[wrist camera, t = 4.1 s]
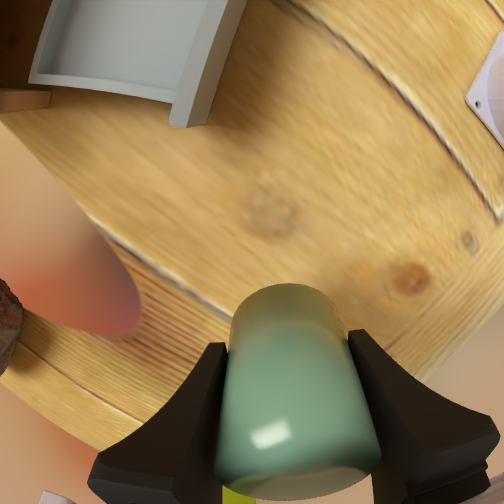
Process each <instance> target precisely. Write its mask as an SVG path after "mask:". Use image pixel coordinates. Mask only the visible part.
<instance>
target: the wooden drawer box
mask: <svg viewBox="0 0 504 504" xmlns="http://www.w3.org/2000/svg"><path fill="white" fill-rule="evenodd" d="M51 94H52V91H43V90H31V89H16V88H0V113H7V112H16V111H25V110H37V109H48V108H49V103H50V98H51Z"/></svg>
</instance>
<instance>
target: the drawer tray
mask: <svg viewBox="0 0 504 504" xmlns="http://www.w3.org/2000/svg"><path fill="white" fill-rule="evenodd" d="M247 1H248V0H53V1H52V4H51V6H50V9H49V12H48V14H47V17H46V20H45V23H44V26H43V29H42V32H41V35H40V38H39V42H38V45H37V48H36V52H35V55H34V59H33V63H32V67H31V71H30V75H29V79H28V83H32V84H46V85H57V86H67V87H76V88H85V89H93V90H100V91H107V92H113V93H120V94H126V95H131V96H137V97H143V98H148V99H153V100H158V101H163V102H168V103H172V104H173V105H172V109H171V112H170V116H169V120H168V124H171V125H176V126H180V127H184V128H189V127H195V126H201V125H206V122H207V119H208V116H209V112H210V109H211V106H212V102H213V99H214V96H215V93H216V89H217V86H218V83H219V80H220V77H221V74H222V71H223V68H224V65H225V62H226V59H227V56H228V53H229V50H230V47H231V44H232V41H233V39H234V36H235V33H236V30H237V27H238V25H239V22H240V19H241V17H242V14H243V11H244V9H245V6H246V3H247Z"/></svg>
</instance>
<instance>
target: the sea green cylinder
mask: <svg viewBox="0 0 504 504" xmlns="http://www.w3.org/2000/svg"><path fill="white" fill-rule="evenodd" d="M380 459H381V449H380V446H379V442H378V439H377V435H376V432H375V428H374V425H373V421H372V418H371V414H370V411H369V408H368V404H367V401H366V398H365V394H364V391H363V388H362V385H361V381H360V378H359V375H358V372H357V369H356V366H355V363H354V360H353V356H352V353H351V350H350V347H349V344H348V341H347V338H346V335H345V333H344V330H343V327H342V324H341V321H340V318H339V315H338V312H337V310H336V308H335V306H334V304H333V303H332V302H331V300H330V299H329V298H328V297H327V296H326V295H324V294H323V293H321V292H320V291H318V290H316V289H314V288H311V287H309V286H305V285H301V284H292V283H289V284H277V285H272V286H268V287H266V288H263V289H260V290H258V291H256V292H255V293H253V294H252V295H250V296H249V297H247V298H246V299H245V300H244V301H243V302H242V303H241V304H240V305H239V307H238V308H237V310H236V311H235V313H234V316H233V319H232V322H231V330H230V338H229V346H228V354H227V362H226V370H225V378H224V387H223V395H222V403H221V412H220V420H219V429H218V437H217V446H216V455H215V463H214V474H215V477H216V478H217V480H218V481H219V482H220V483H221V484H222V485H223V486H225V487H226V488H228V489H230V490H232V491H234V492H236V493H238V494H241V495H244V496H248V497H252V498H257V499H263V500H274V501H275V500H276V501H291V500H303V499H310V498H316V497H321V496H325V495H329V494H332V493H335V492H338V491H341V490H343V489H346V488H348V487H350V486H352V485H354V484H356V483H358V482H359V481H361V480H363V479H364V478H365V477H367V476H368V475H369V474H370V473H371V472H373V471H374V469H375V468H376V467H377V466H378V464H379V462H380Z"/></svg>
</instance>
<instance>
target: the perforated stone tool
mask: <svg viewBox="0 0 504 504" xmlns="http://www.w3.org/2000/svg"><path fill="white" fill-rule="evenodd" d="M22 312H23V307H22V304H21V303H20V302H19V300H18V297H16V296H15V295H14V294H13V293H12V292H11V291H10V288H9V286H7V284H6V282H5V281H3V280H2V279H0V376H1V375H2V374H3V373H4V371H5V370H6V368H7V366H8V364H9V362H10V360H11V357H12V355H13V352H14V349H15V346H16V342H17V338H18V334H19V333H18V332H19V331H20V329H21V324H22V319H23V317H22Z"/></svg>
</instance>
